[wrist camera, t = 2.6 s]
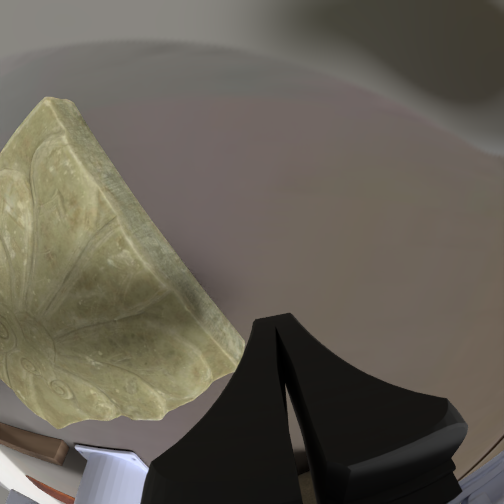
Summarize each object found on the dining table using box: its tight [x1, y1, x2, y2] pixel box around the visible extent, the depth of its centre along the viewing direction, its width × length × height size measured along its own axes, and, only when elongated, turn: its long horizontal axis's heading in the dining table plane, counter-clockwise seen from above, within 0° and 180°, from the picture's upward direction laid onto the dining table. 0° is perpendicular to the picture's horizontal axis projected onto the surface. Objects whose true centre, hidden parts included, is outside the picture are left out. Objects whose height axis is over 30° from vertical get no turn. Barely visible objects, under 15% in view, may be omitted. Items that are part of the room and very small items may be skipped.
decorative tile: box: [0, 97, 245, 429], centre depth 14 cm, size 18×20×4 cm
